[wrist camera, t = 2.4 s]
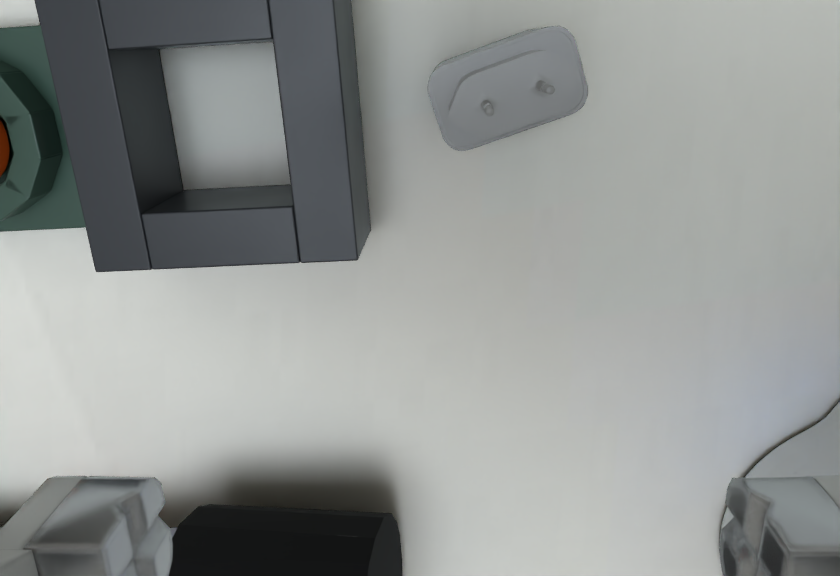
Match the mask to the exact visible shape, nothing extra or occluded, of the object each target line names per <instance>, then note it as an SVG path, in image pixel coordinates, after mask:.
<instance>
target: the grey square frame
mask: <svg viewBox="0 0 840 576" xmlns="http://www.w3.org/2000/svg"><path fill="white" fill-rule="evenodd" d="M35 4H36V8H37V13H38V17H39V22H40V26H41V30H42V35H43V39H44V44H45V48H46V53H47V57H48V62H49V66H50V70H51V75H52V79H53V84H54V88H55V93H56V97H57V101H58V106H59V110H60V115H61V119H62V124H63V128H64V133H65V137H66V141H67V146H68V150H69V155H70V159H71V164H72V168H73V172H74V177H75V181H76V186H77V190H78V195H79V199H80V204H81V208H82V212H83V217H84V221H85V226H86V230H87V235H88V239H89V243H90V248H91V252H92V257H93V261H94V266H95V270H96V272H111V271H133V270H151V269H174V268H196V267H218V266H240V265H262V264H284V263H299V262H301V263H309V262H331V261H353V260H358V258H359V256H360V254H361V251H362V249H363V247H364V245H365V242H366V240H367V238H368V235H369V233H370V231H371V225H370V213H369V202H368V190H367V178H366V167H365V155H364V144H363V132H362V121H361V109H360V97H359V86H358V74H357V63H356V51H355V39H354V28H353V16H352V5H351V0H35ZM260 42H273V44H274V52H275V60H276V68H277V76H278V84H279V93H280V101H281V109H282V117H283V125H284V133H285V141H286V150H287V158H288V166H289V174H290V182H291V185H274V186H255V187H236V188H217V189H197V190H184V191H183V187H182V182H181V176H180V170H179V164H178V159H177V153H176V147H175V141H174V136H173V130H172V124H171V119H170V113H169V107H168V101H167V96H166V90H165V84H164V79H163V73H162V67H161V61H160V56H159V50H158V49H168V48H183V47H198V46H214V45H229V44H244V43H260Z"/></svg>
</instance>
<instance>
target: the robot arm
mask: <svg viewBox="0 0 840 576" xmlns="http://www.w3.org/2000/svg"><path fill="white" fill-rule="evenodd" d="M165 503H166V502H165V497H164V493H163V488H162V484H161V482H159V481H158V480H157V479H156V478H155V477H109V476H89V477H87V476H56V477H52V478H49V479H47V480H46V481H45V482H44V483H43V484H42V485H41V486H40V487H39V488H38V490H37V491H36V492H35V493H34V494H33V495H32V496H31V497H30V498H29V499H28V500H27V501H26V502H25V504H24V505H23V506H22V507H21V508H20V509H19V510H18V511H17V512H16V513H15V514H14V515H13V516H12V518H11V519H10V520H9V521H8V522H7V523H6V524H5V525H4V526H3V527H2V528H1V529H0V576H169V572H170V568H171V564H172V558H173V542H172V536H171V530H170V527H169V526H168V525H167V524H166V523H165V522H164V521H163V520H162V519H161V518H160V517H159V516H158V514H159V513H160V511H161V509H162V508H163V506H164V504H165ZM725 503H726V505H727V509H726V511H725V514H724V517H723V521H722V526H721V532H720V549H719V551H720V560H721V569H722V573H723V576H840V402H839V403H838V404H837V405H836V406H835V407H834V408H833V410H832V411H831V412H830V413H829V414H828V415H827V417H825V418H824V419H823V420H821V421H820V422H819V423H817V424H816V425H814V426H812V427H811V428H809V429H807V430H805V431H803V432H802V433H800V434H798V435H796V436H794V437H793V438H791V439H789V440H787V441H786V442H784V443H783V444H781V445H780V446H778V447H777V448H775V449H774V450H773V451H771V452H770V453H769V454H768V455H766V456H765V457H764V458H763V459H762V460H761V461H760V462H758V463H757V464H756V465H755V466H754V467H753V469H752V470H751V471H750V472H749V473H748V474H747V475H746V477H745V478H732V480H731V482H730V484H729V486H728V489H727V495H726V501H725Z"/></svg>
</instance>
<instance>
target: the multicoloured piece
mask: <svg viewBox="0 0 840 576" xmlns="http://www.w3.org/2000/svg"><path fill="white" fill-rule="evenodd" d="M0 529H1V528H0ZM170 530H171V536H172V542H173V558H172V564H171V568H170V572H169V576H402V554H401V543H400V534H399V530H398V526H397V522H396V520H395V518H394V517H393V515H392V513H372V512H352V511H332V510H312V509H293V508H273V507H253V506H233V505H213V504H209V505H204V506H199V507H197V508H196V509H195V510H194V511H193V512H192V513H191V514H190V515H189V516H188V517H187V518H186V519H185V520H184V521H183V522H182V523H180V524H179V526H178V528H170Z"/></svg>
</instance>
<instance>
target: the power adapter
mask: <svg viewBox="0 0 840 576" xmlns="http://www.w3.org/2000/svg"><path fill="white" fill-rule="evenodd" d="M428 95H429V98H430V101H431V104H432V107H433V110H434V113H435V116H436V119H437V121H438V124H439V127H440V130H441V133H442V136H443V139H444V140H445V142H446V143H447V144H448V145H449V146H450V147H451V148H453V149H455V150H458V151H466V150H470V149H473V148H476V147H479V146H482V145H485V144H488V143H491V142H493V141H496V140H499V139H502V138H505V137H508V136H511V135H514V134H516V133H519V132H522V131H525V130H528V129H531V128H534V127H537V126H539V125H542V124H545V123H548V122H551V121H554V120H557V119H560V118H562V117H565V116H568V115H571V114H573V113H575V112H577V111H578V110H579V109H581V108H582V107H583V105H584V104H585V102H586V99H587V96H588V85H587V82H586V78H585V74H584V70H583V67H582V63H581V59H580V55H579V52H578V48H577V44H576V41H575V38H574V36H573V35H572V34H571V32H569V31H568V30H567V29H566V28H564V27H561V26H550V27H544V28H538V29H531V30H527V31H524V32H521V33H518V34H516V35H513V36H510V37H508V38H505V39H502V40H499V41H497V42H494V43H491V44H489V45H486V46H483V47H481V48H478V49H475V50H472V51H470V52H467V53H464V54H462V55H459V56H456V57H453V58H451V59H448V60H445V61H443V62H442V63H440V64H439V65H438V66H437V67H436V68H435V70H434V71H433V73H432V75H431V76H430V78H429V82H428Z"/></svg>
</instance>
